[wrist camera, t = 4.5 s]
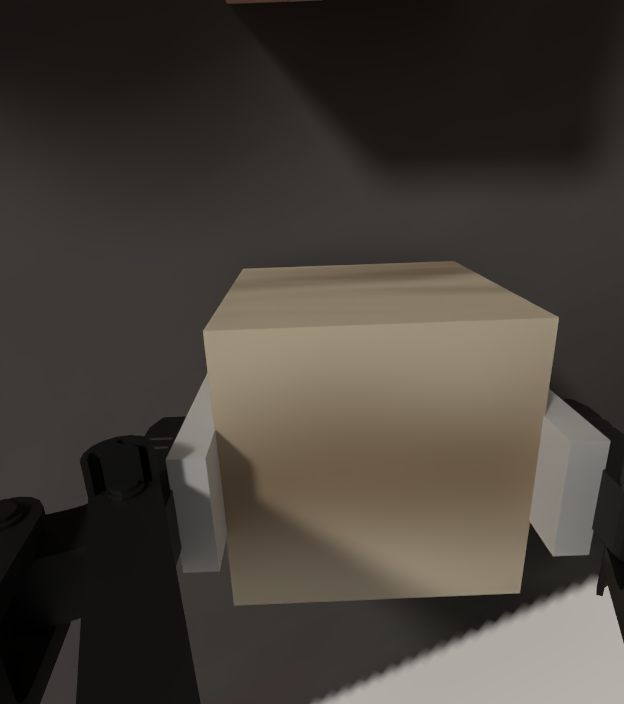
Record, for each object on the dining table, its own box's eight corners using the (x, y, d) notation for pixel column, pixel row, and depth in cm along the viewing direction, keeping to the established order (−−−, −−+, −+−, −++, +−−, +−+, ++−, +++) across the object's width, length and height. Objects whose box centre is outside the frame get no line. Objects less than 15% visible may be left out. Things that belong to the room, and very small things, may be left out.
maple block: (243, 268, 16) (203, 331, 10) (453, 261, 16) (558, 317, 10) (257, 453, 18) (234, 605, 12) (441, 445, 19) (520, 593, 12)
